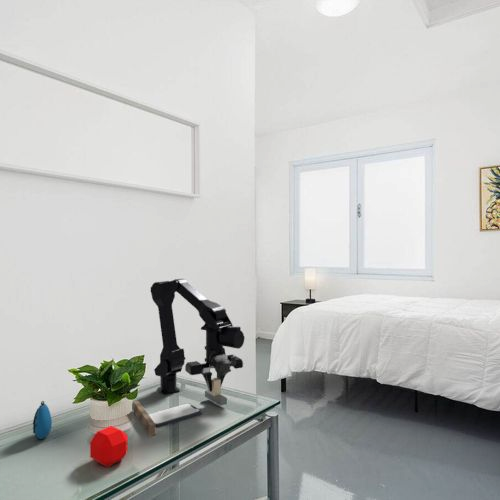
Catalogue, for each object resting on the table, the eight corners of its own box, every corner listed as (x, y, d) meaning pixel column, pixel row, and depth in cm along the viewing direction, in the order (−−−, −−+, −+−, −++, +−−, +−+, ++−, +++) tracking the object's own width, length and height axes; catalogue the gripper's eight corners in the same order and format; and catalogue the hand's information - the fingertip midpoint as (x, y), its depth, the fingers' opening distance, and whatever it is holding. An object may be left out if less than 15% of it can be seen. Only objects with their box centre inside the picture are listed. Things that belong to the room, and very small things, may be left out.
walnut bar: (133, 410, 139) (133, 401, 138) (138, 409, 139) (138, 400, 139) (150, 435, 121) (150, 425, 121) (155, 434, 122) (155, 424, 121)
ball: (133, 459, 108) (132, 429, 108) (104, 473, 101) (104, 441, 101) (113, 450, 113) (113, 421, 112) (85, 462, 106) (85, 431, 106)
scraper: (204, 396, 148) (204, 376, 148) (211, 394, 149) (211, 374, 149) (220, 405, 140) (220, 384, 140) (226, 403, 141) (226, 382, 141)
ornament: (35, 432, 123) (35, 397, 123) (53, 429, 125) (53, 395, 124) (30, 445, 115) (30, 407, 115) (49, 442, 117) (49, 405, 116)
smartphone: (155, 430, 126) (202, 415, 136) (155, 425, 126) (202, 410, 136) (142, 420, 133) (188, 407, 143) (142, 415, 133) (188, 402, 143)
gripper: (196, 353, 133) (196, 403, 134) (250, 346, 142) (250, 393, 142) (184, 345, 143) (184, 392, 143) (235, 339, 152) (235, 383, 152)
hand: (214, 390), depth 145 cm, fingers closed on scraper, 3 cm apart
